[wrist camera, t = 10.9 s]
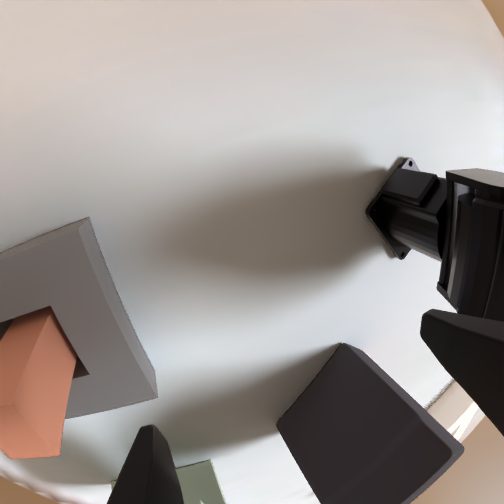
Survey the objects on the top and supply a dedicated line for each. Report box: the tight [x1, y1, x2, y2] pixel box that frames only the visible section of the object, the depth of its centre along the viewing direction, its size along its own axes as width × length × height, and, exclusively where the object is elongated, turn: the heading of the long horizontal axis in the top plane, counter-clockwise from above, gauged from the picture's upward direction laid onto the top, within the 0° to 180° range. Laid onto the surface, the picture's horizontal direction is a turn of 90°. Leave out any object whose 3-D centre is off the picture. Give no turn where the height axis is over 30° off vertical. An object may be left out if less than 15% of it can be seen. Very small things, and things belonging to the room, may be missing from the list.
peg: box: [0, 305, 77, 459], centre depth 13 cm, size 4×4×10 cm
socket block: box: [0, 217, 158, 419], centre depth 16 cm, size 12×12×3 cm
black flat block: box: [276, 343, 464, 504], centre depth 20 cm, size 11×4×15 cm, turn 145°
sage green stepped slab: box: [111, 460, 226, 504], centre depth 19 cm, size 12×10×10 cm
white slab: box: [427, 381, 478, 440], centre depth 43 cm, size 30×26×6 cm
